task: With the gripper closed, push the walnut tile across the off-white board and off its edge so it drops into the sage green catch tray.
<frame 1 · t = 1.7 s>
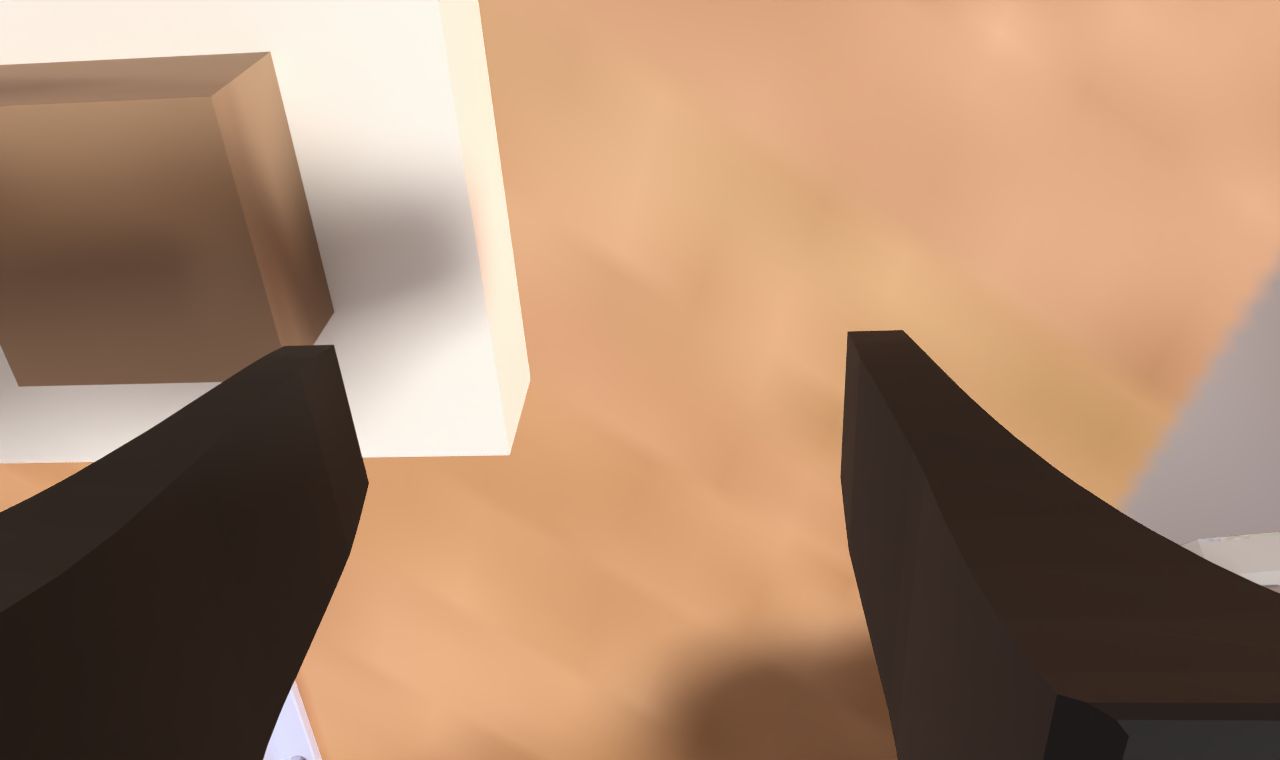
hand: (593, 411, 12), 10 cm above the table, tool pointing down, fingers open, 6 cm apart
board: (143, 144, 22), on the table
french press: (1236, 644, 28), on the table
walnut tile: (141, 223, 18), point 4 cm above the table, touching board
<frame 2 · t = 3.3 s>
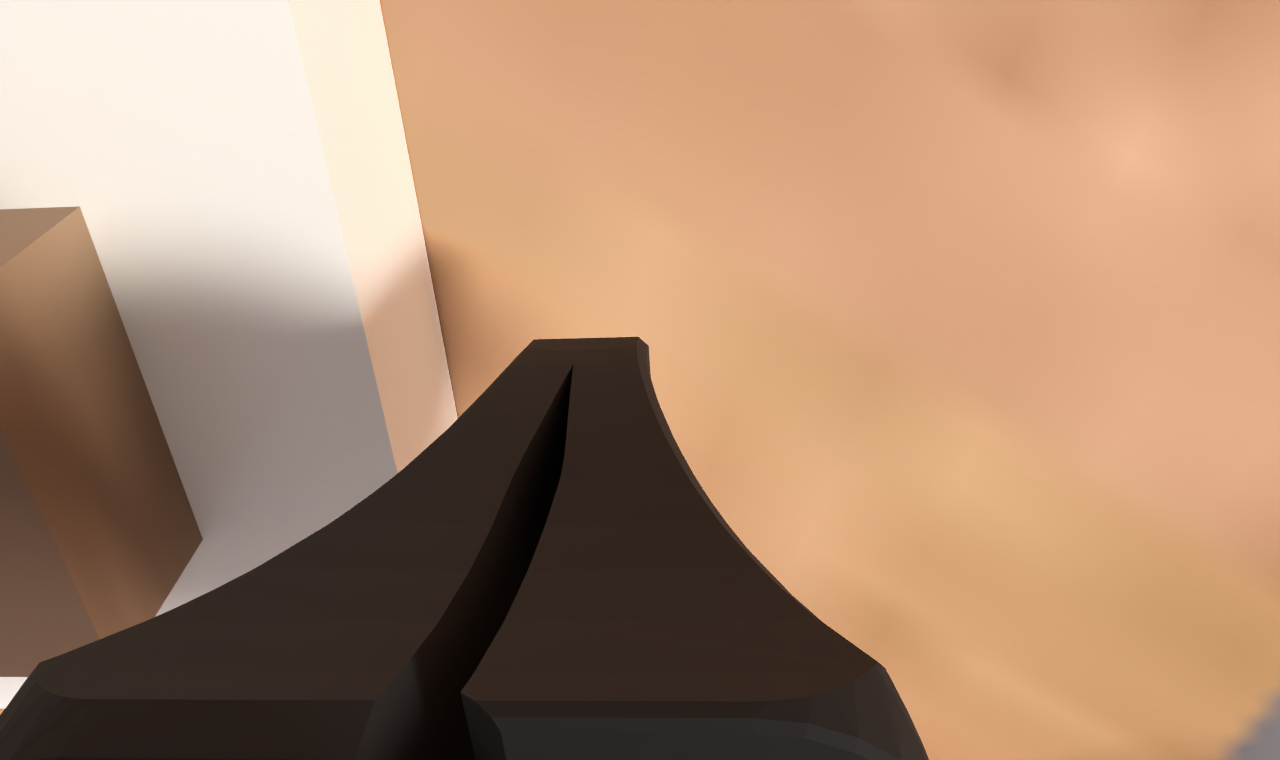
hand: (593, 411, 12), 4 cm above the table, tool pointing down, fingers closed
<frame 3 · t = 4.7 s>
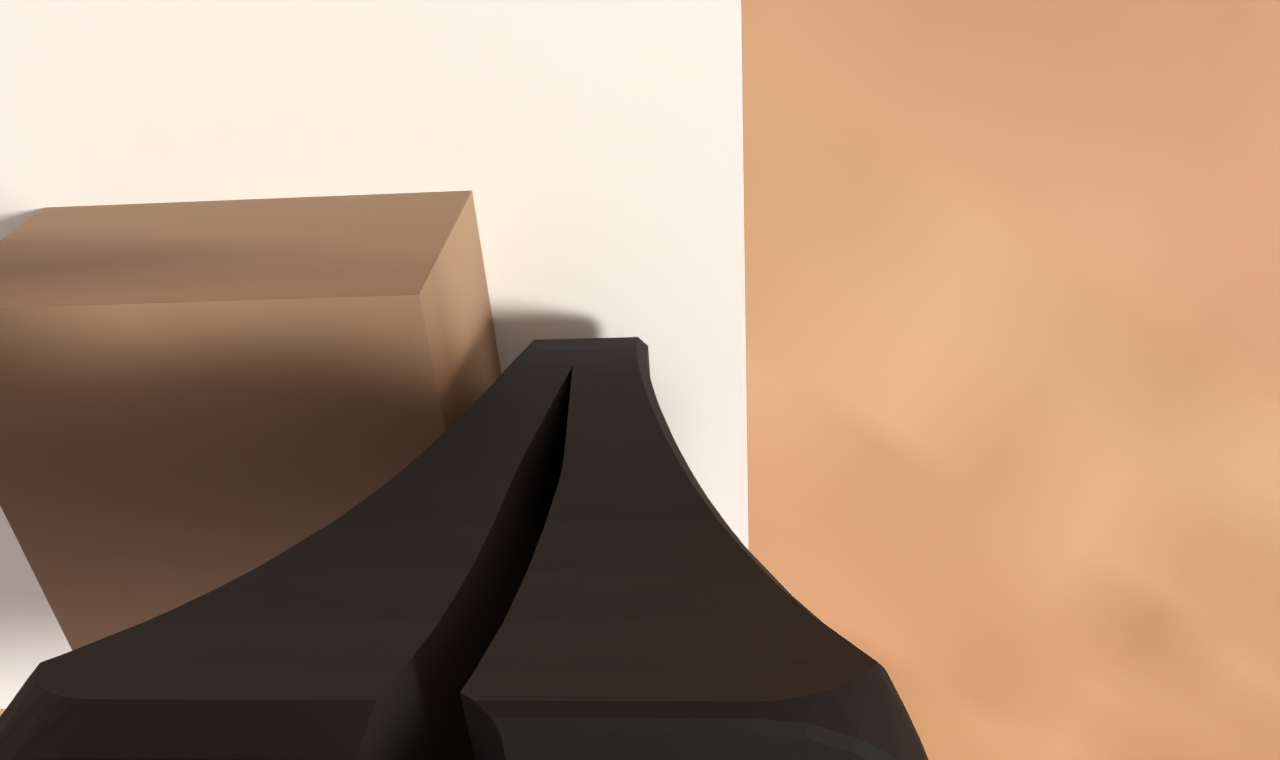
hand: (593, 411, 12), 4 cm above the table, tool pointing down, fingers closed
board: (243, 282, 16), on the table
walnut tile: (271, 443, 12), point 4 cm above the table, touching gripper
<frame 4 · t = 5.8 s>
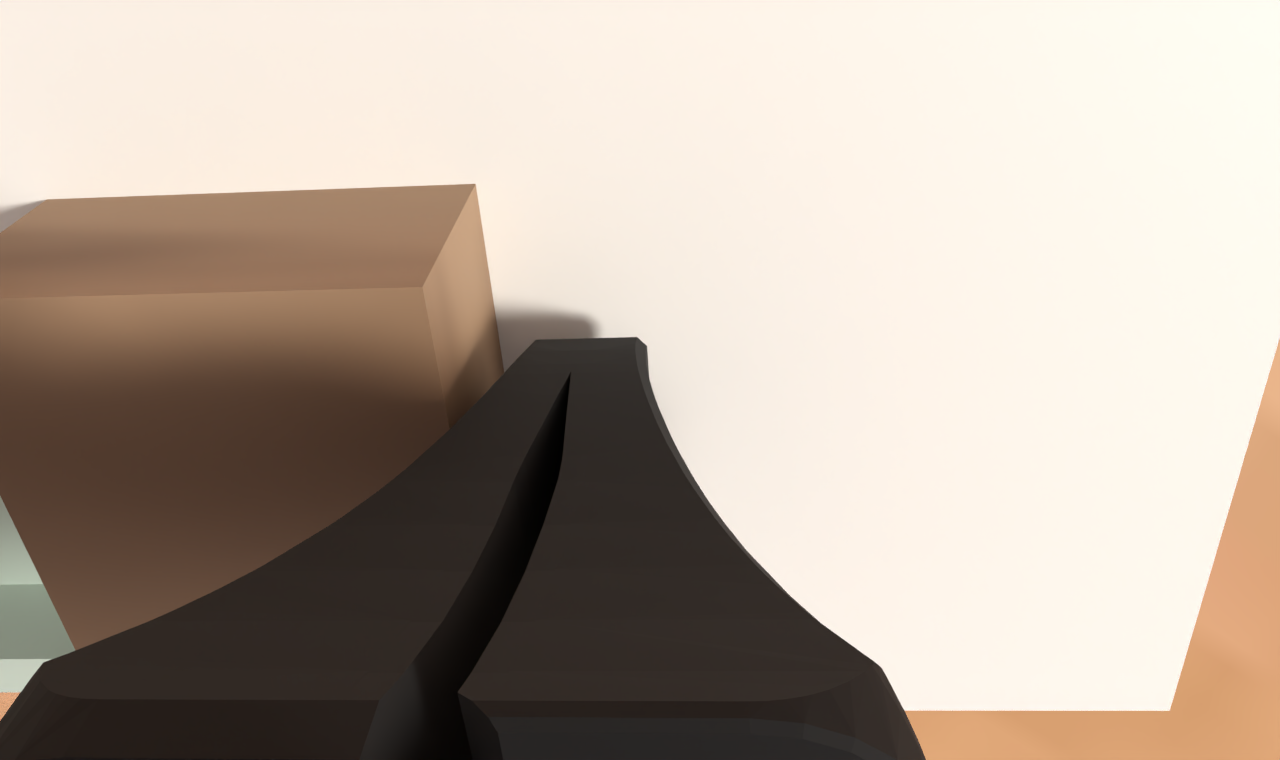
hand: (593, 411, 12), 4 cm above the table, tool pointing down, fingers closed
board: (645, 269, 15), on the table
walnut tile: (272, 436, 12), point 4 cm above the table, touching board, gripper
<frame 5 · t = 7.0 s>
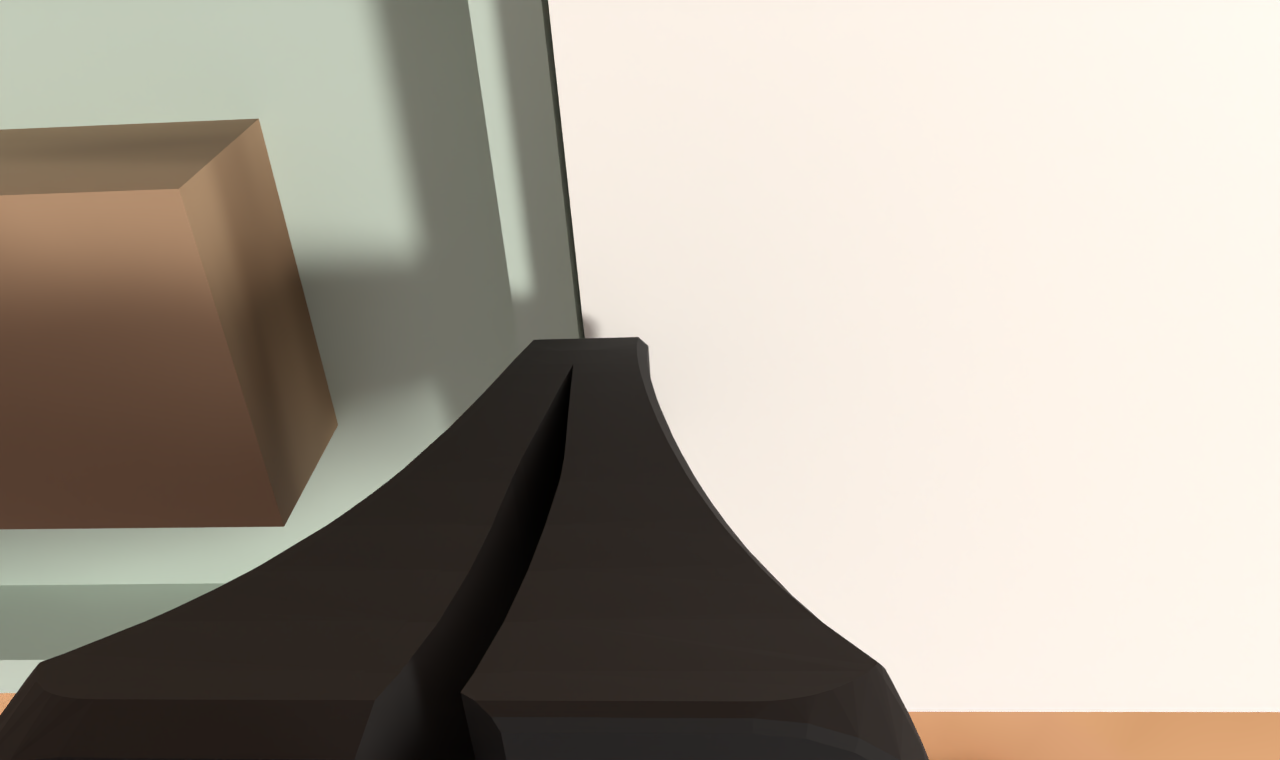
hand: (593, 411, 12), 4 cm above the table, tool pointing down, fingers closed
board: (1136, 254, 15), on the table
catch tray: (117, 289, 16), on the table
walnut tile: (97, 330, 15), point 2 cm above the table, tilted 180°, touching catch tray
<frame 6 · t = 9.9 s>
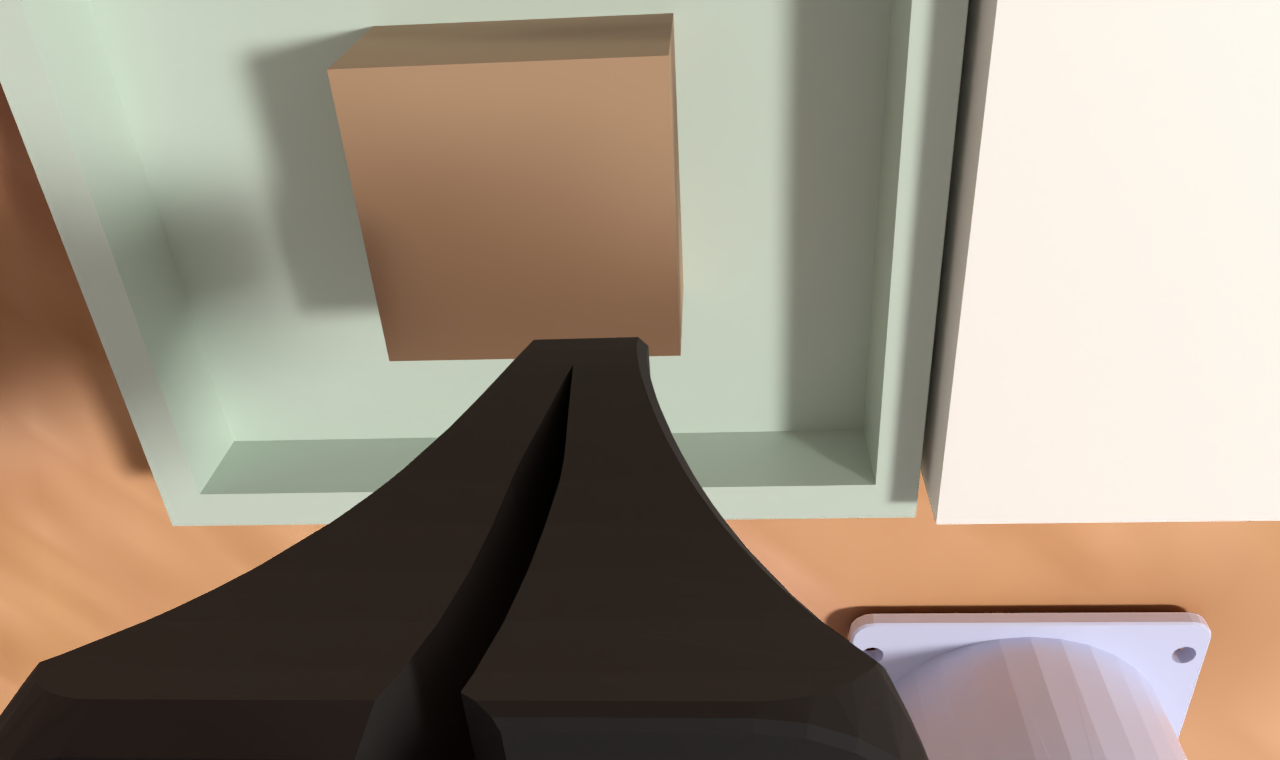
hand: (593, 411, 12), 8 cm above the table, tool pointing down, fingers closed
catch tray: (509, 167, 19), on the table
walnut tile: (527, 191, 18), point 2 cm above the table, tilted 180°, touching catch tray
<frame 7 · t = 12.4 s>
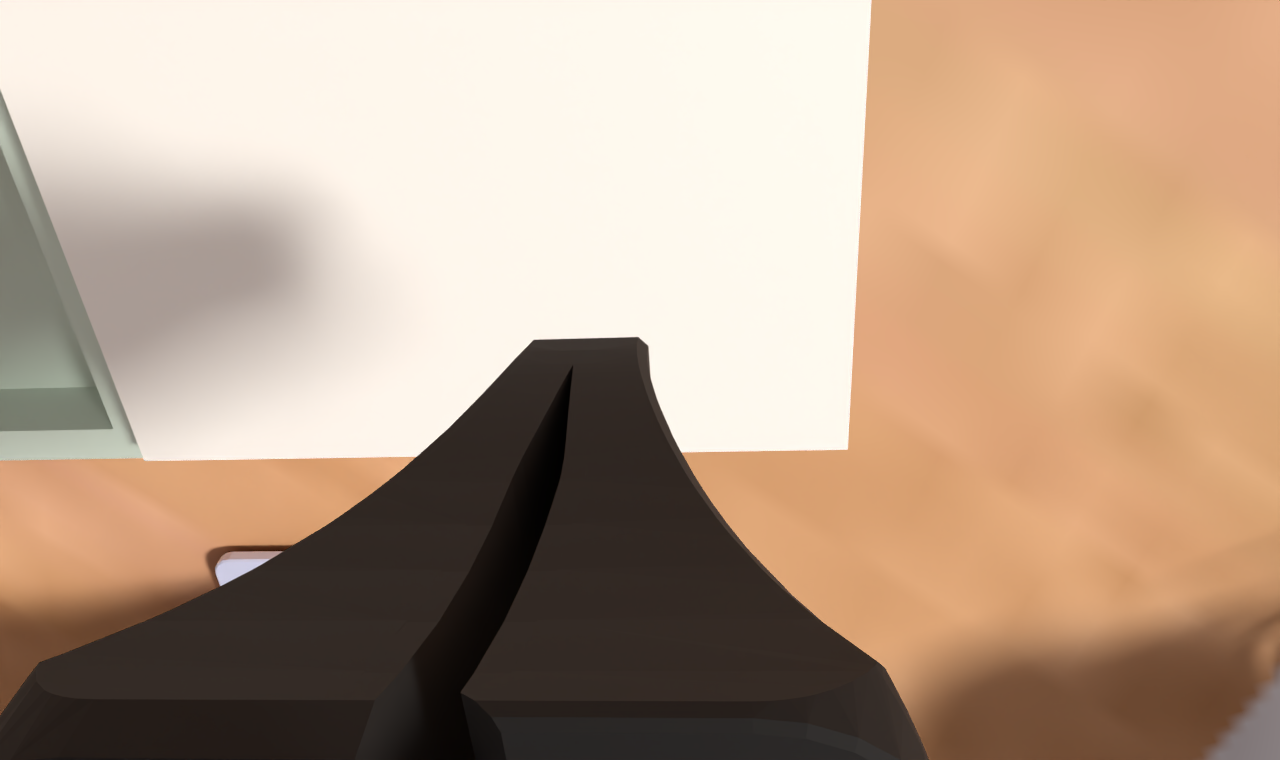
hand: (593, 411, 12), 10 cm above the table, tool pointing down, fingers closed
board: (471, 130, 21), on the table
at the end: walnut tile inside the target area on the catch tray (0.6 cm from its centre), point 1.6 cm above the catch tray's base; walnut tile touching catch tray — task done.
